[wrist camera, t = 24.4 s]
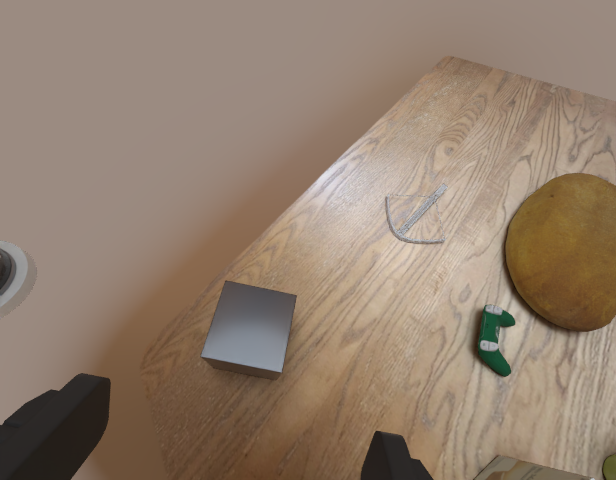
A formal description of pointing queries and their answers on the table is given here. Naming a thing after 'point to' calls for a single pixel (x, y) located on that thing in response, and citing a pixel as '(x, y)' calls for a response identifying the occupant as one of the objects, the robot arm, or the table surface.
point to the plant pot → (610, 468)
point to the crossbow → (415, 218)
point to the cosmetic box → (524, 471)
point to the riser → (250, 331)
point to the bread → (567, 251)
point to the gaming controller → (494, 338)
